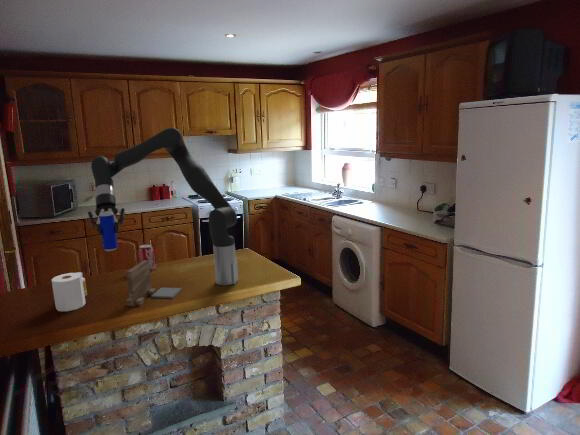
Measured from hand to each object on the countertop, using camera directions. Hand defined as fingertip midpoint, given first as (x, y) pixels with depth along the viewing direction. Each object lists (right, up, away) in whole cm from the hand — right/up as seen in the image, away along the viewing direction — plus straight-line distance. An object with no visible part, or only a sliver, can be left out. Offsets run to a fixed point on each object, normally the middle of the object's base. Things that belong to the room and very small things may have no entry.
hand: (108, 232), depth 166 cm
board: (+11, -27, +6) cm, 30 cm away
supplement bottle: (-16, -27, +11) cm, 33 cm away
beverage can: (0, -7, +3) cm, 8 cm away
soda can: (+2, -20, +42) cm, 46 cm away
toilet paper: (-15, -29, +1) cm, 33 cm away
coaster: (+20, -26, +10) cm, 34 cm away
